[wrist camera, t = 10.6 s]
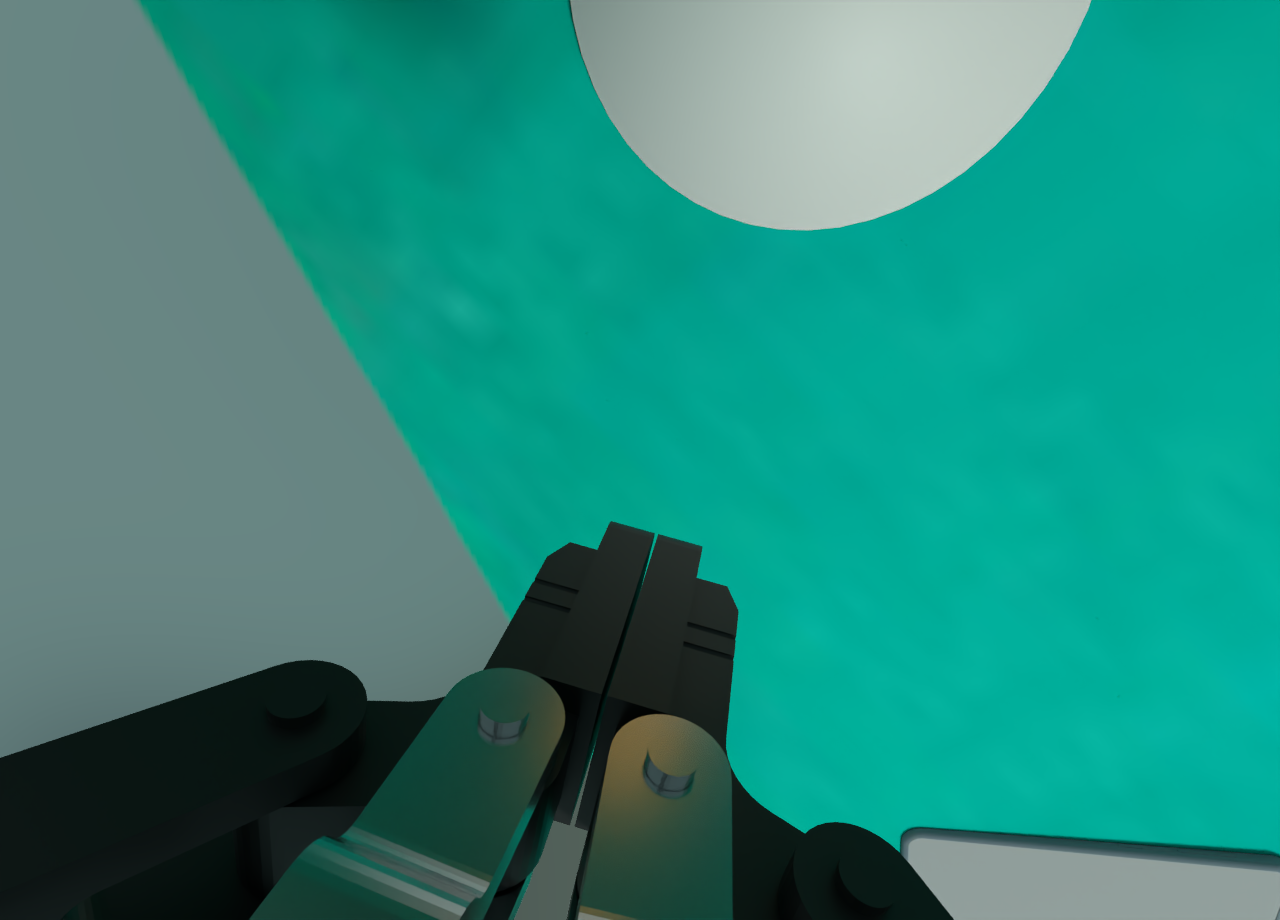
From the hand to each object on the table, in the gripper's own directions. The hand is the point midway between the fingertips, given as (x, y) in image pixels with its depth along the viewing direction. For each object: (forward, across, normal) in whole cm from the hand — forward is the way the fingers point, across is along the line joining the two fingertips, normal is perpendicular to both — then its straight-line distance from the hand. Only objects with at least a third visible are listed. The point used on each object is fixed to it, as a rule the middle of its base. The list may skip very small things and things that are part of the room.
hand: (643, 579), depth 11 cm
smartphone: (+15, -22, +21) cm, 34 cm away
